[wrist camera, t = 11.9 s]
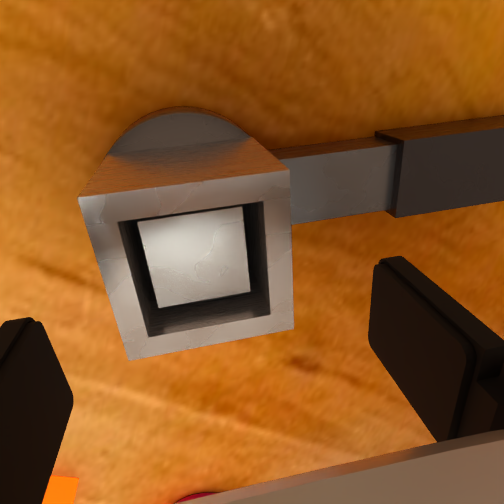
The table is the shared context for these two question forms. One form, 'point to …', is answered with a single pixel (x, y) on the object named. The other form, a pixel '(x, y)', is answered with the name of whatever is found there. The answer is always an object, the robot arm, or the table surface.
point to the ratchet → (311, 190)
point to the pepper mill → (195, 496)
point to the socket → (184, 200)
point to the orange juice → (60, 490)
